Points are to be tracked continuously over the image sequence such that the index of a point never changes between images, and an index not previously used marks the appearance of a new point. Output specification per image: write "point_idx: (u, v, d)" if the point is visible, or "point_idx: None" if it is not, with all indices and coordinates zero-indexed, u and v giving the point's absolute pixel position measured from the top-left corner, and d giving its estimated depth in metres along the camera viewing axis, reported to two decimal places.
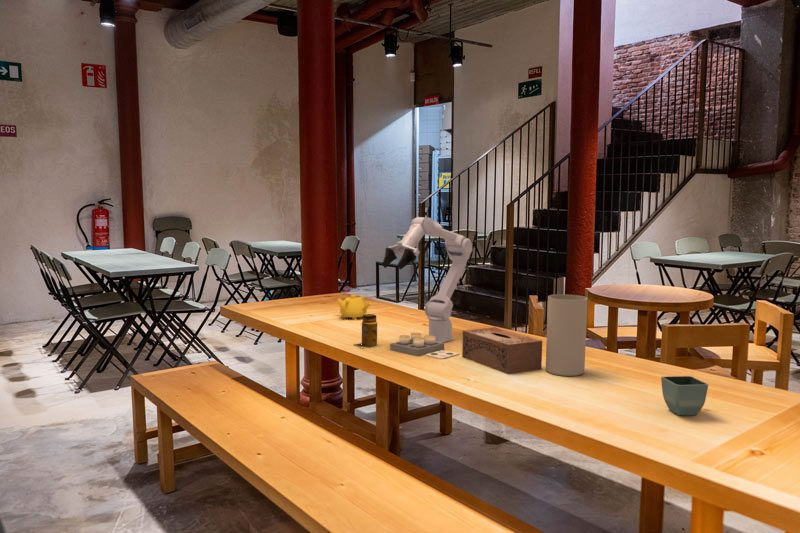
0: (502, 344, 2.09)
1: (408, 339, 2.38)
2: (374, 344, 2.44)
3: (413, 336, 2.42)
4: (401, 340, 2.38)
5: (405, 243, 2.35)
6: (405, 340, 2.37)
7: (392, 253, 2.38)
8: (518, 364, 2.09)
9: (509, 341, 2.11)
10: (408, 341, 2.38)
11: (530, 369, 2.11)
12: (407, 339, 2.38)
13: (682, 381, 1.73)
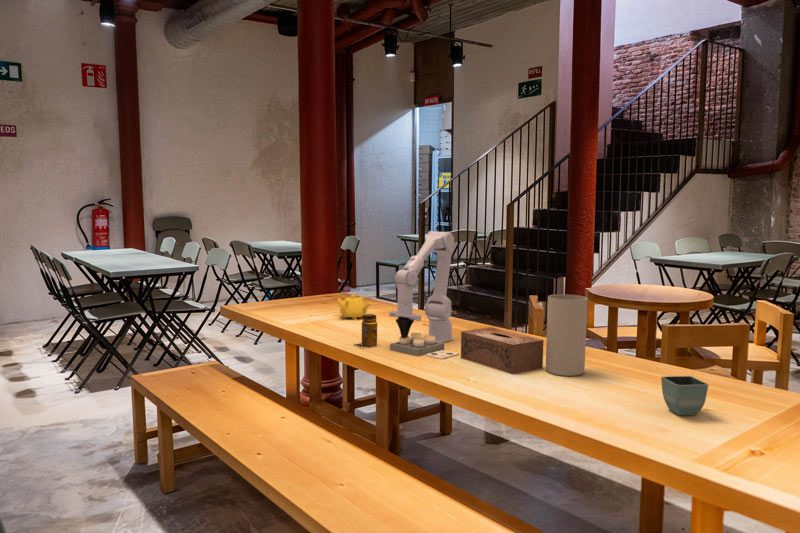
0: (506, 344, 2.08)
1: (408, 340, 2.38)
2: (374, 344, 2.44)
3: (413, 336, 2.42)
4: (401, 341, 2.38)
5: (403, 312, 2.35)
6: (405, 341, 2.37)
7: None
8: (521, 364, 2.09)
9: (512, 341, 2.11)
10: (408, 342, 2.38)
11: (532, 369, 2.12)
12: (407, 340, 2.38)
13: (682, 381, 1.73)
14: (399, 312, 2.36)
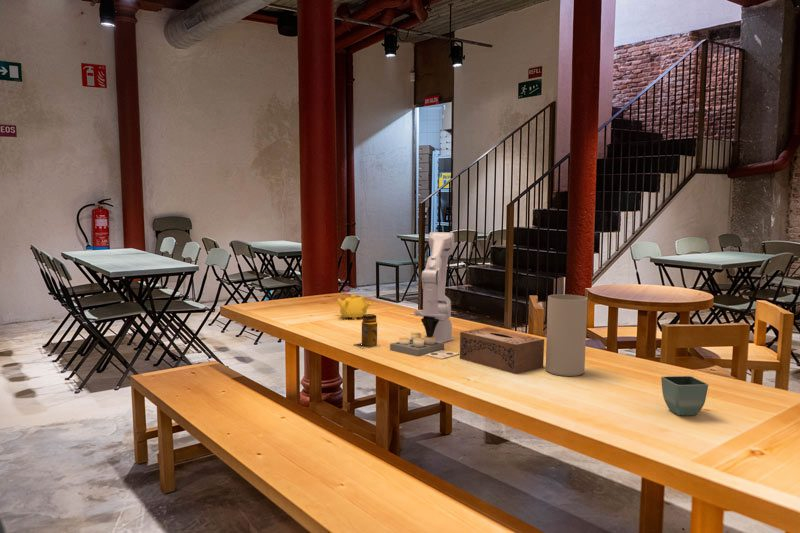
0: (508, 344, 2.08)
1: (408, 342, 2.38)
2: (374, 344, 2.44)
3: (413, 336, 2.42)
4: (401, 343, 2.38)
5: (429, 311, 2.35)
6: (405, 343, 2.37)
7: None
8: (524, 364, 2.09)
9: (514, 341, 2.11)
10: (408, 344, 2.38)
11: (534, 368, 2.13)
12: (407, 342, 2.38)
13: (682, 381, 1.73)
14: (425, 311, 2.36)
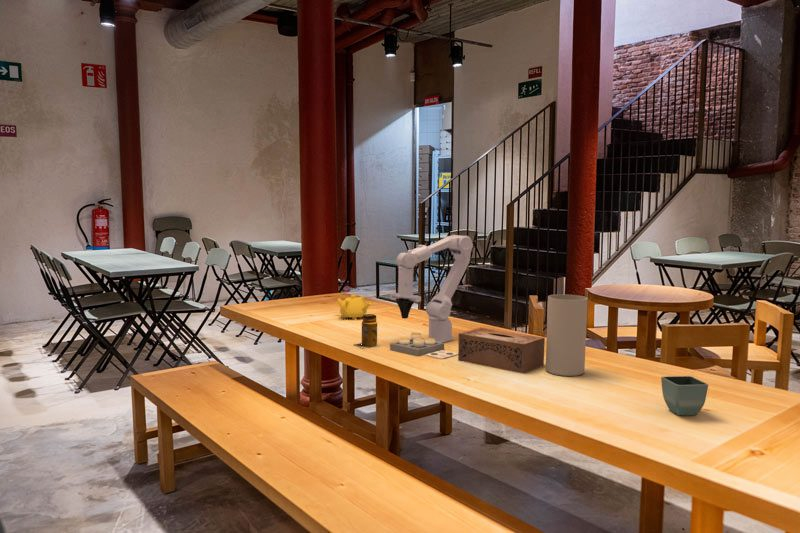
0: (515, 344, 2.09)
1: (408, 342, 2.38)
2: (374, 344, 2.44)
3: (413, 336, 2.42)
4: (401, 343, 2.38)
5: (404, 293, 2.44)
6: (405, 343, 2.37)
7: None
8: (529, 363, 2.11)
9: (519, 340, 2.12)
10: (408, 344, 2.38)
11: (537, 366, 2.15)
12: (407, 342, 2.38)
13: (682, 381, 1.73)
14: (400, 293, 2.45)
